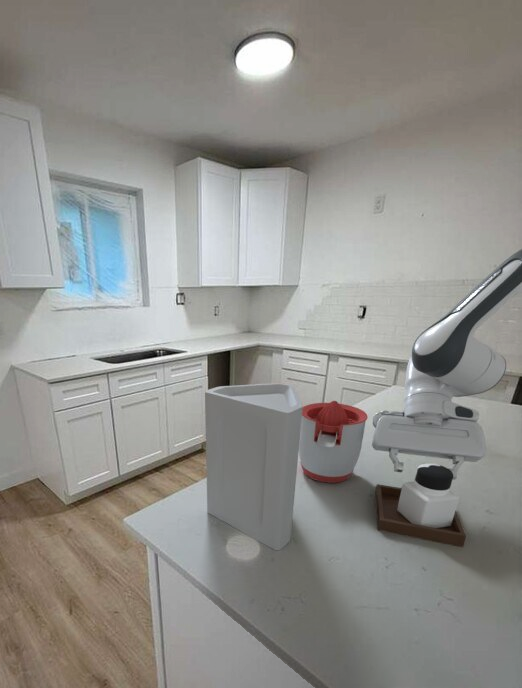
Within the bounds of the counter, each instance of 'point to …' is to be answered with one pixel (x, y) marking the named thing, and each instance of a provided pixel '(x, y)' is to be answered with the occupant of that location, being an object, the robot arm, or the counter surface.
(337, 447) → the citrus juicer
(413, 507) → the medicine bottle
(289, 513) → the triangular white caddy
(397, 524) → the tray
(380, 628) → the counter surface
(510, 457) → the counter surface
